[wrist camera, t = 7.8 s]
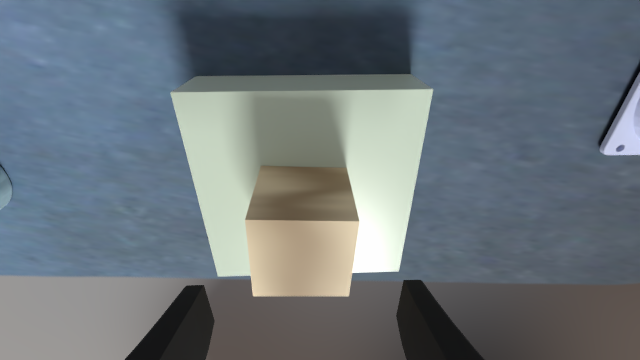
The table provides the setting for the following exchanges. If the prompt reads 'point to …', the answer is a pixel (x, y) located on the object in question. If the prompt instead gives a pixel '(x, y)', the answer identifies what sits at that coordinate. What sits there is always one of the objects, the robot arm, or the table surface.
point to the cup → (4, 189)
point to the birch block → (301, 231)
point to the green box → (305, 150)
